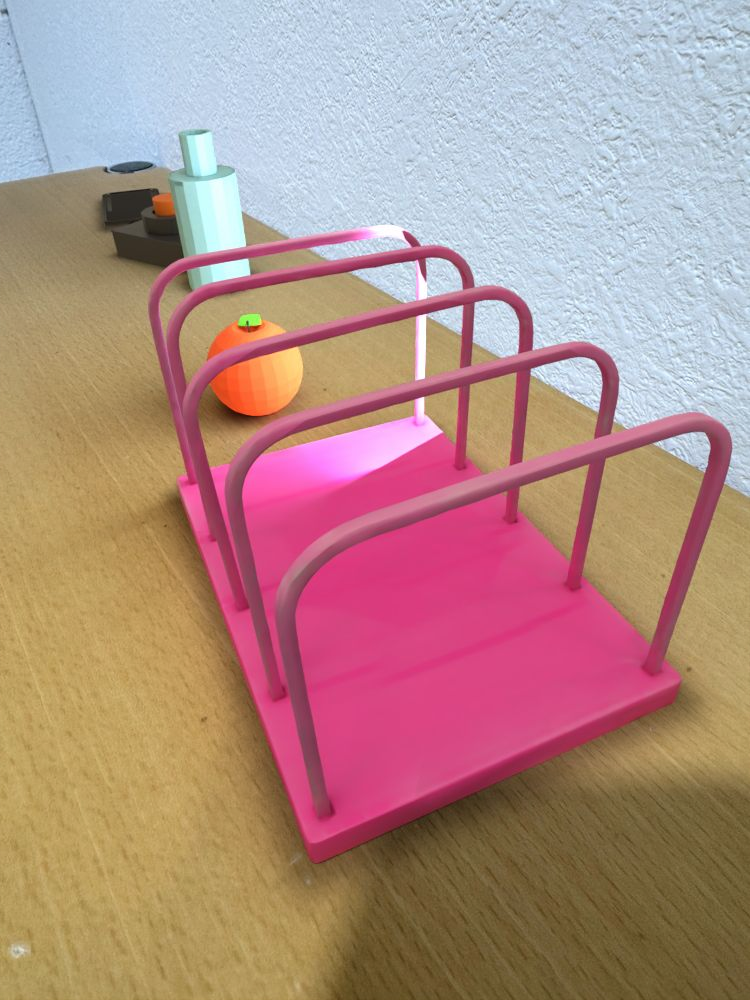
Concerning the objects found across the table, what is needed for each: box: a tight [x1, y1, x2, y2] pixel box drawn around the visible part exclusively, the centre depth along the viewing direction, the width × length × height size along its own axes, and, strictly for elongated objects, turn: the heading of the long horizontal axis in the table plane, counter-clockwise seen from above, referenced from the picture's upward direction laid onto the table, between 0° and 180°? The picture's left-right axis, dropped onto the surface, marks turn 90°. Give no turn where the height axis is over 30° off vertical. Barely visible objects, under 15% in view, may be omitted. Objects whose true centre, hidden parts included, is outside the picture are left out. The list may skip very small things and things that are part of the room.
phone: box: [101, 187, 161, 231], centre depth 94 cm, size 8×1×15 cm
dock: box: [111, 206, 187, 273], centre depth 80 cm, size 11×9×5 cm
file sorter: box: [147, 224, 733, 864], centre depth 33 cm, size 17×25×16 cm
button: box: [152, 192, 175, 216], centre depth 78 cm, size 4×4×2 cm
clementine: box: [206, 313, 304, 417], centre depth 51 cm, size 8×7×7 cm
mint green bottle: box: [167, 128, 251, 291], centre depth 68 cm, size 6×6×14 cm
